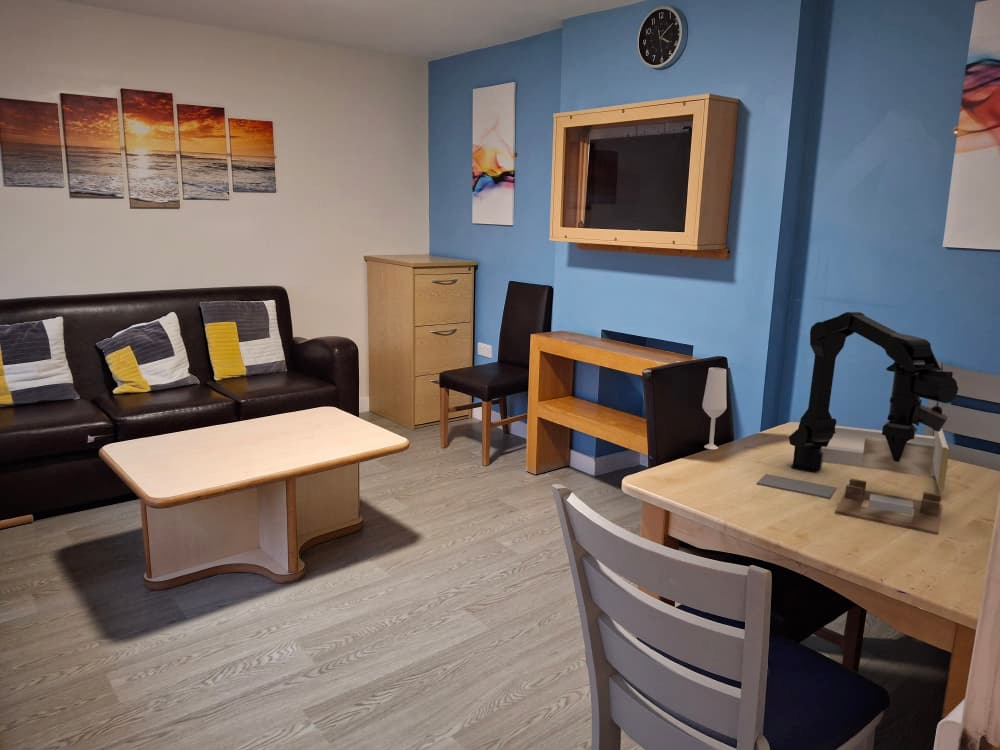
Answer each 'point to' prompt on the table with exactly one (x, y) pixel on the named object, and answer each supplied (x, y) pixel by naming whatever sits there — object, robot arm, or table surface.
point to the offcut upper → (891, 504)
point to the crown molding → (860, 445)
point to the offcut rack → (924, 510)
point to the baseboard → (940, 458)
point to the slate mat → (797, 486)
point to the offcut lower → (885, 513)
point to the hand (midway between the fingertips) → (897, 459)
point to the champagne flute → (715, 399)
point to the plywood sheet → (911, 461)
